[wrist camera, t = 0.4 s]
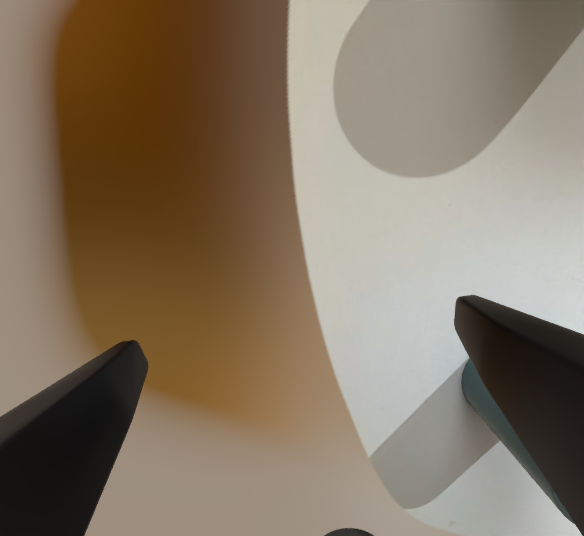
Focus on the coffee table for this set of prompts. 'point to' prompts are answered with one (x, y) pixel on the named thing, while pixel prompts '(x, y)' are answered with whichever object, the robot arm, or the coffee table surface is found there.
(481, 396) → the bottle
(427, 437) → the coffee table surface
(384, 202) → the coffee table surface
